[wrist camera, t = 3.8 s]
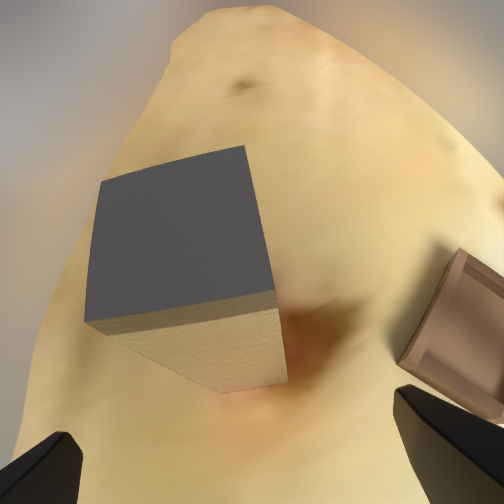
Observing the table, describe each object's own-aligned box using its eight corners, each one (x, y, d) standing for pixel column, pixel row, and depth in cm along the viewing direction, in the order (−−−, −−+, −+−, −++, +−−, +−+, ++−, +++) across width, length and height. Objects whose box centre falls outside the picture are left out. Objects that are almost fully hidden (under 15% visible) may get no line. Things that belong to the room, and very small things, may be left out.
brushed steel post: (288, 382, 18) (275, 289, 6) (221, 393, 18) (84, 321, 6) (276, 320, 20) (244, 145, 8) (213, 332, 20) (101, 181, 8)
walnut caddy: (491, 425, 14) (507, 423, 12) (396, 364, 17) (406, 358, 16) (530, 318, 17) (545, 309, 15) (448, 261, 20) (459, 247, 19)
